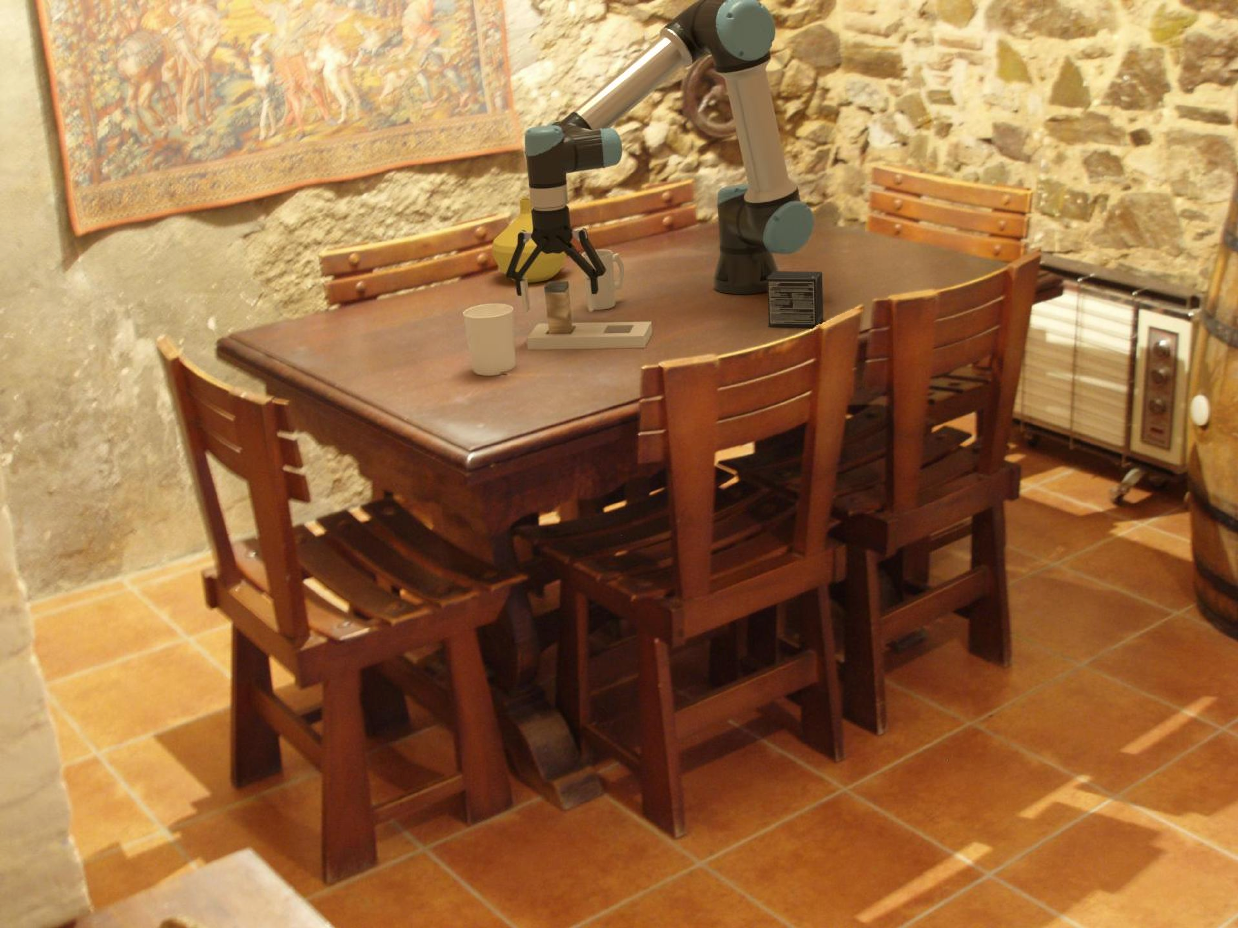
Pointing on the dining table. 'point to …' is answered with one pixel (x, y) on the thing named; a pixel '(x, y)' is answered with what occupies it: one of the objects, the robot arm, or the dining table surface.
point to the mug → (606, 280)
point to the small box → (795, 299)
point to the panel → (592, 336)
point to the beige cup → (490, 338)
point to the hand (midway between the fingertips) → (559, 310)
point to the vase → (525, 249)
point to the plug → (558, 307)
